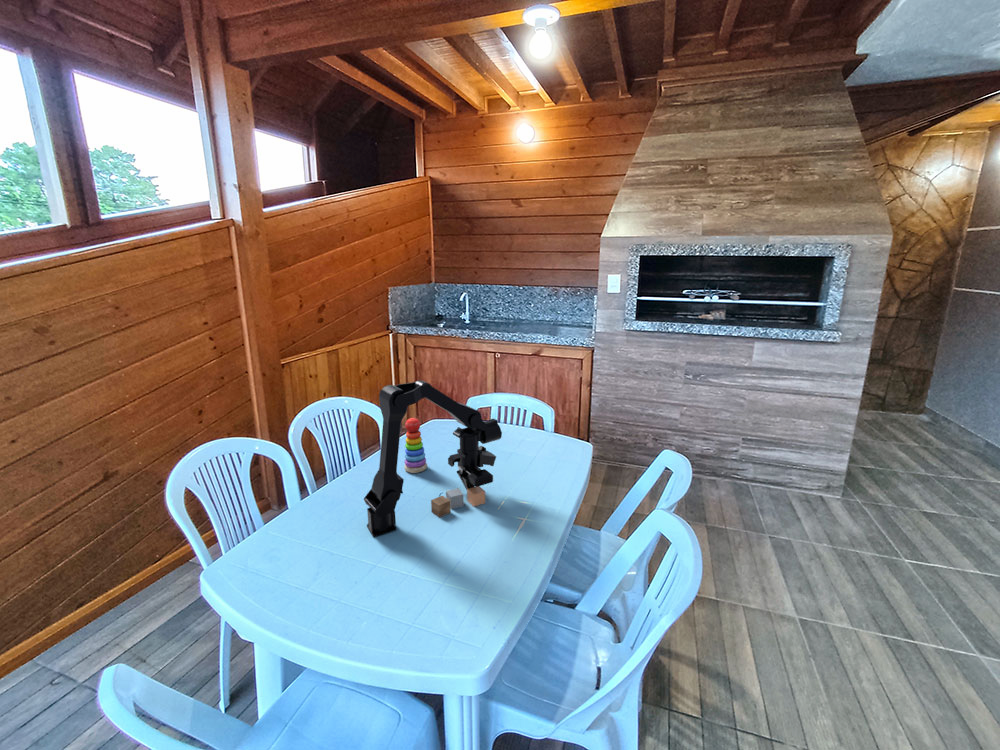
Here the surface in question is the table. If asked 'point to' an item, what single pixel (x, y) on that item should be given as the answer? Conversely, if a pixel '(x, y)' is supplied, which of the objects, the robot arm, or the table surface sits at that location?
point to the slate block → (455, 498)
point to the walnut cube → (440, 506)
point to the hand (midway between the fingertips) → (470, 493)
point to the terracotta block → (476, 496)
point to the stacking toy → (414, 448)
